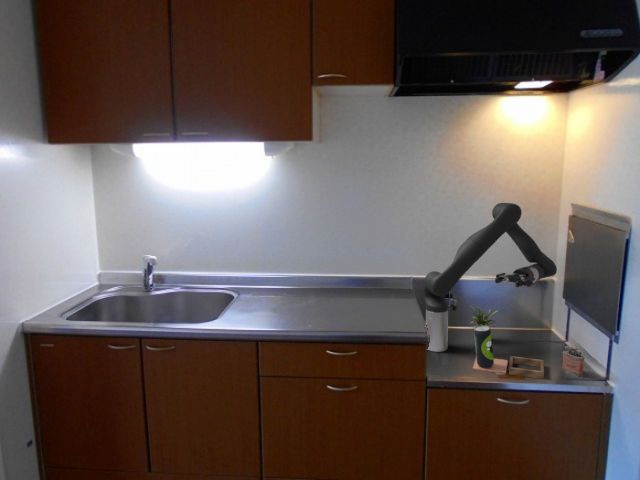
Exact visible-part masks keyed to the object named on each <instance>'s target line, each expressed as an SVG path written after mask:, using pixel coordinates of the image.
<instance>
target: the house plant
mask: <svg viewBox="0 0 640 480" xmlns="http://www.w3.org/2000/svg"><path fill="white" fill-rule="evenodd" d="M470 307H471V308H472V309H473V310H474V311H472V310H471V314H472V315H474V316H472V317H471V318H472V319H473V320H471V319H470V318H468V320H470V323H469V325H470V324H473V323H477V324H476V325H474V326H473V328H475V327H477V326H488V327H490V325H491V324H494V322H495V320H494V319H490V318H491V317H492V316H493V315H494V314H495V313H498V312H499V310H495V311H494V312H493V313H491V314H490V312H491V309H489V310H488V312H487V314H486V315H485V316H484V312H485V311H486V309H483V311H482V309H481V308H480V306H479V305H477V308H478V309H477V310H478V312H477V310H476V309H475V307H474V306H472V305H470ZM474 330H475V329H474ZM474 330H473V331H474ZM490 330H491V327H490ZM491 331H492V330H491Z"/></svg>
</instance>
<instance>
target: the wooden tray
mask: <svg viewBox="0 0 640 480" xmlns="http://www.w3.org/2000/svg"><path fill="white" fill-rule="evenodd" d="M508 364H509V365H508V375H510V376H511V375H512V376H520V377H525V378H526V377H527V378H535V379H540V380H541V379H542V380H544V378H545V377H544V376H545V366H544V360H543V359H538V358H537V359H536V358H529V357H522V356H513V355H512V356H511V355H510V357H509V363H508ZM513 364H515V365H524V366H532V367H538V368H539V367H540V369H539V370H535V369H528V368H519V367H513Z"/></svg>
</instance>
